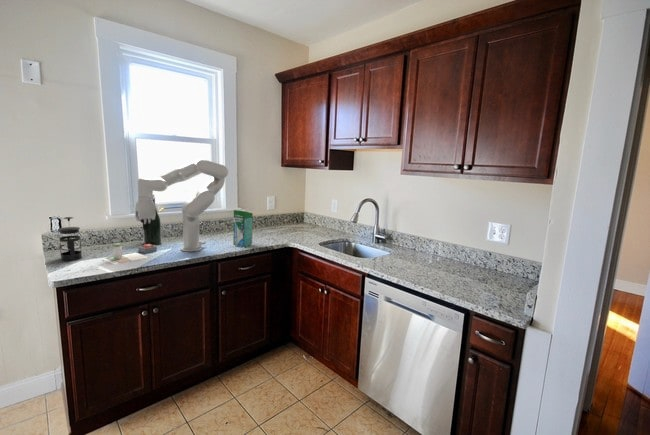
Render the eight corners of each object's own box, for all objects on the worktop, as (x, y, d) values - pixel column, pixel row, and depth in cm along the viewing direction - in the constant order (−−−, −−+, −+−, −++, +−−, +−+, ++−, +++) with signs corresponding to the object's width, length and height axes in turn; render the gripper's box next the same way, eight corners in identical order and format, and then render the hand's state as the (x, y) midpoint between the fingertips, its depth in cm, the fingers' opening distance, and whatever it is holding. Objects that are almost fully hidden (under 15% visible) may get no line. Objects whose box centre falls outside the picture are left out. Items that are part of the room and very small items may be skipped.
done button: (149, 248, 194) (148, 243, 193) (152, 249, 192) (152, 244, 191) (142, 249, 190) (142, 244, 190) (146, 250, 188) (146, 246, 188)
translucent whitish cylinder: (120, 256, 177) (119, 242, 176) (123, 258, 175) (123, 243, 174) (111, 258, 174) (111, 244, 173) (115, 259, 172) (114, 245, 171)
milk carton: (252, 245, 222) (252, 209, 218) (243, 247, 214) (244, 211, 210) (241, 243, 226) (242, 208, 222) (233, 245, 218) (233, 209, 214)
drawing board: (136, 253, 189) (136, 251, 188) (151, 258, 180) (151, 256, 180) (98, 261, 172) (98, 259, 172) (113, 267, 163) (113, 265, 163)
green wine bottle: (161, 244, 211) (160, 195, 206) (143, 246, 206) (141, 195, 201) (161, 241, 220) (159, 193, 215) (143, 242, 215) (142, 193, 210)
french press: (59, 257, 174) (56, 216, 170) (80, 255, 180) (78, 215, 177) (61, 263, 166) (58, 219, 162) (84, 260, 172) (81, 218, 169)
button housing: (150, 250, 196) (150, 244, 195) (156, 252, 192) (156, 246, 192) (138, 253, 190) (138, 246, 189) (145, 255, 186) (144, 248, 186)
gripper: (154, 198, 194) (154, 227, 197) (128, 199, 182) (129, 230, 184) (161, 199, 190) (161, 229, 193) (135, 200, 178) (136, 232, 181)
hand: (146, 230), depth 189 cm, fingers closed
